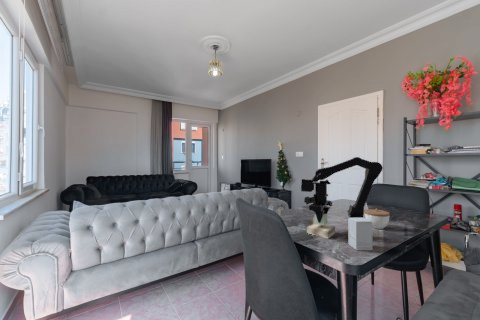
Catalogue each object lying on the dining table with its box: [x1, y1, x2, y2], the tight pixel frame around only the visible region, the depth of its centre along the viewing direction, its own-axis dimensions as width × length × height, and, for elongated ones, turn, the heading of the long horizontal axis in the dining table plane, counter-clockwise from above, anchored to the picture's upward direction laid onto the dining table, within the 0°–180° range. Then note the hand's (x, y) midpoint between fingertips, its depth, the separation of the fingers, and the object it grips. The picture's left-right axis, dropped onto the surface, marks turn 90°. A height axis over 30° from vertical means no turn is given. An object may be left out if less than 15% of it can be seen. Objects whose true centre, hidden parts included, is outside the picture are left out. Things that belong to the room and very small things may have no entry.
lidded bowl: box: [364, 207, 390, 230], centre depth 128 cm, size 13×13×11 cm
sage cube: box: [314, 213, 328, 225], centre depth 117 cm, size 5×5×5 cm
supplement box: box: [347, 217, 373, 251], centre depth 99 cm, size 7×7×13 cm
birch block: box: [306, 223, 336, 239], centre depth 117 cm, size 11×11×4 cm
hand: (321, 221), depth 117 cm, fingers closed on sage cube, 5 cm apart
